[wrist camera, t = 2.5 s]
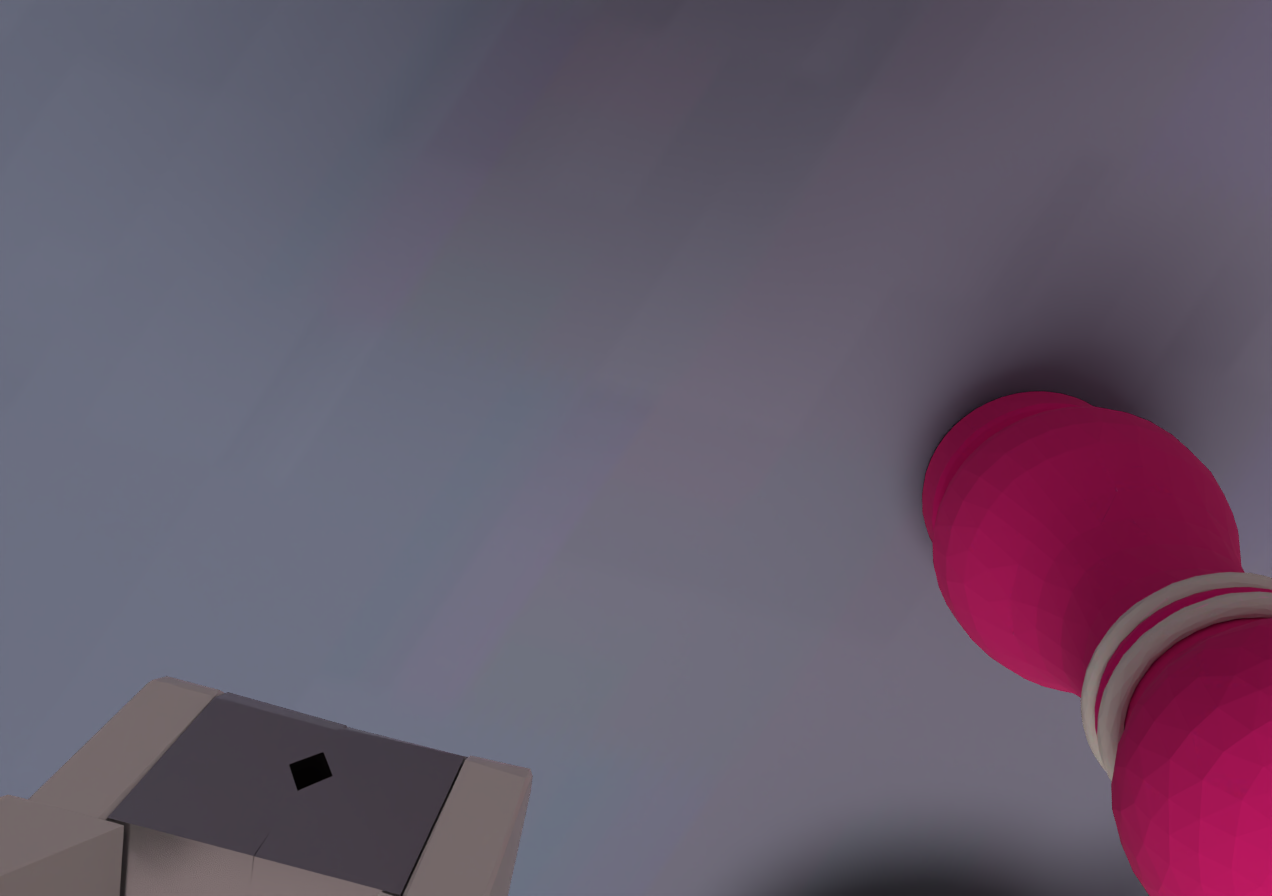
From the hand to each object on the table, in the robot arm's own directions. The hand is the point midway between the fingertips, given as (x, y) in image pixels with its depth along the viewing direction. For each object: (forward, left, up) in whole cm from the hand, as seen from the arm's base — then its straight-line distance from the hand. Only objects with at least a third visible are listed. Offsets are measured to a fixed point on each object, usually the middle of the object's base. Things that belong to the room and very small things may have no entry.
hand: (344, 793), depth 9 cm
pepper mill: (+4, +13, -25) cm, 28 cm away
